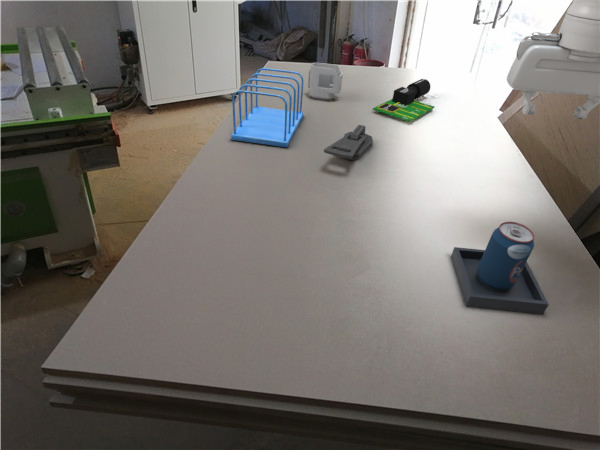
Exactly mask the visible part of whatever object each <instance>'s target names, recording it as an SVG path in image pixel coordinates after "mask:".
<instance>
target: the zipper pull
mask: <svg viewBox="0 0 600 450" xmlns="http://www.w3.org/2000/svg"><path fill="white" fill-rule="evenodd" d="M373 143H374V139H373V136H372V135H370V134H367V133H366V125H363V124H357V126H356V127H355V128H354V130H353V131H349V132H346V133H344V135H343V137H341V138H340V139H338V140H337V141H334V143H332V144H329V145H328V146H327V147H325V148H324V149H323V153H325V154H328V155H331V156H335V157H339V158H342V159H345V160H349V161H356V160H357V161H359V160H361V158H362V157H364V155H365V154H366V153H367V152H369V151H370V150H371V149H372V147H373Z"/></svg>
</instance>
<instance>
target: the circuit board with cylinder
mask: <svg viewBox="0 0 600 450" xmlns="http://www.w3.org/2000/svg"><path fill="white" fill-rule="evenodd" d="M430 91H431V82H430V81H429V80H428V79H426V78H421V79H418V80H416V81H413V82H412V83H410V84H408V85H407V87H404V86H401V87H398V88H396V89H394V90H393V94H392V98H390V99H389V100H386V101H385V102H382V103H380V104H378V105H377V106H374V107H372V110H373V111H375V112H379V113H382V114H384V115H388V116H391V117H394V118H397V119H400V120H403V121H406V122H409V123H410V122H413V121H414V120H416V119H418V118H419V117H421V116H423V115H424V114H426V113H428V112H429V111H432V110H433V109H435V106H434V105H432V104H431V105H430V104H428V103H424V102H421V101H418V100H417V99H419V98H421V97H423V96H425V95H427V94H428V93H429V92H430Z"/></svg>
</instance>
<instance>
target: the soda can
mask: <svg viewBox="0 0 600 450" xmlns="http://www.w3.org/2000/svg"><path fill="white" fill-rule="evenodd" d="M534 248H535V233H534V232H533V230H532V229H530V228H529V227H527V226H526V225H524V224H522V223H519V222H515V221H504V222H501V223H500V224H499V226H497V228H495V229H493V231H492V233H491V235H490V238H489V240H488V242H487V244H486V247H485V249H484V250H485V252H484V254H483V256H482V259H481V261H480V263H479V266H478V268H477V274H478V277H479V280H480V282H481V283H482V284H483V285H484V286H486V287H488V288H490V289H492V290H496V291H504V290H506V289H509V288H511V287H513V286H514V285H515V283H516V281H517V279H518V277H519V275H520V273H521V271H522V269H523V267H524V265H525V263H526V262H527V263H528V259H529V258H530V256H531V253H532V252H533V250H534Z"/></svg>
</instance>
